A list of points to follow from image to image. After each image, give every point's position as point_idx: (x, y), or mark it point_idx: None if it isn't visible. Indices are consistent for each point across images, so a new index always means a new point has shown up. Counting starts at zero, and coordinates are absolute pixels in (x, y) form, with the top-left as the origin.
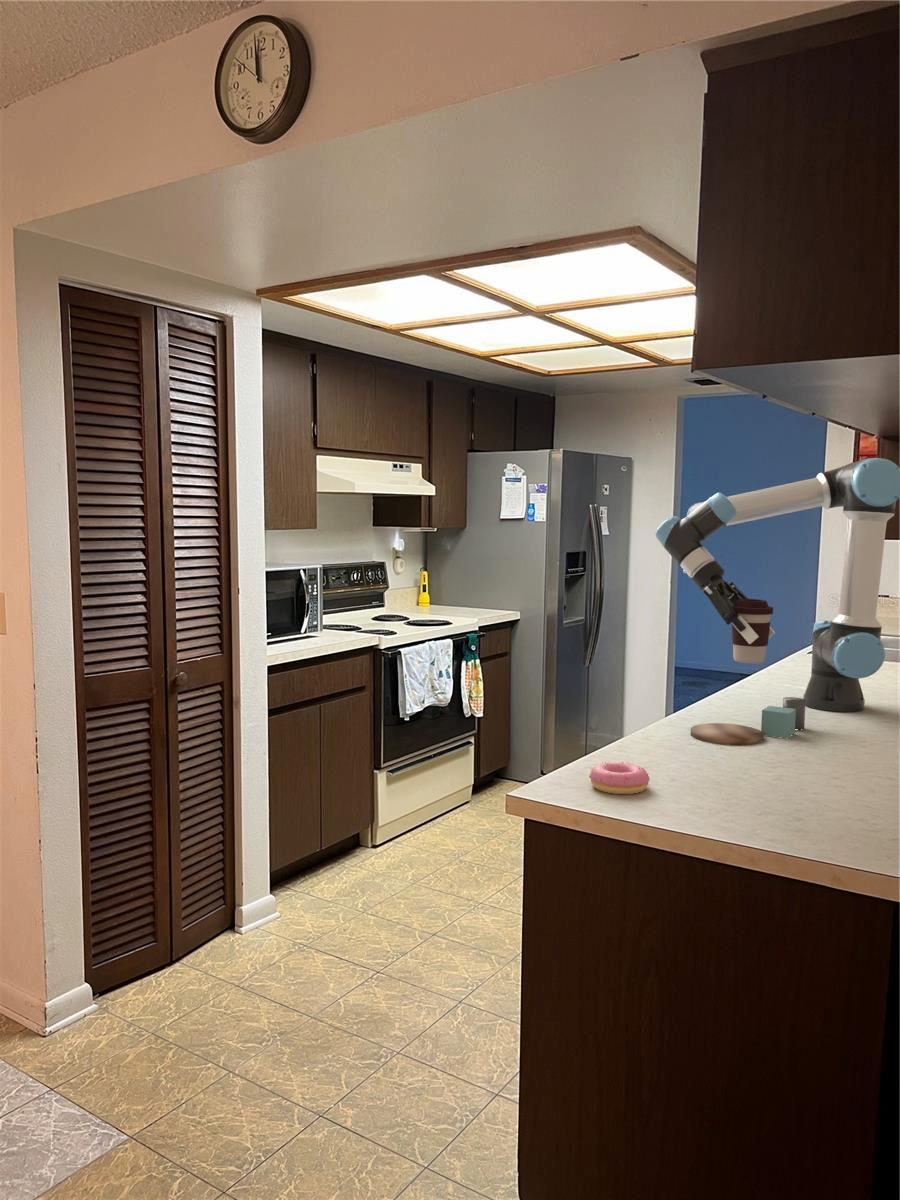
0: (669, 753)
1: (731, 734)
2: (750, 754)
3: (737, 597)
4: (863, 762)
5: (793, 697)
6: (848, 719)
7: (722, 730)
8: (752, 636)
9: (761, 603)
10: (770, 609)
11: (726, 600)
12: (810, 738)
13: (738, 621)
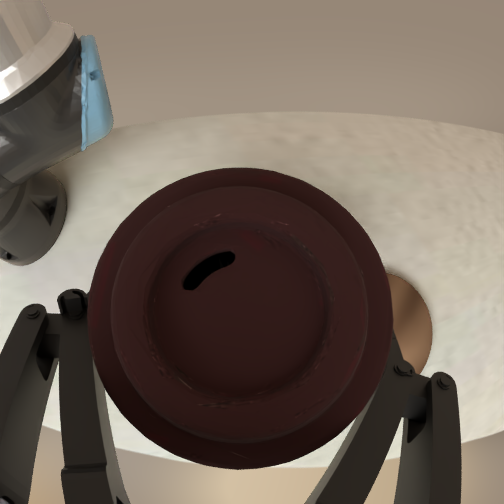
0: (495, 363)
1: (398, 321)
2: (452, 270)
3: (105, 457)
4: (396, 139)
5: None
6: (117, 178)
7: None
8: None
9: (318, 213)
10: (286, 175)
11: (370, 483)
12: None
13: (399, 348)
